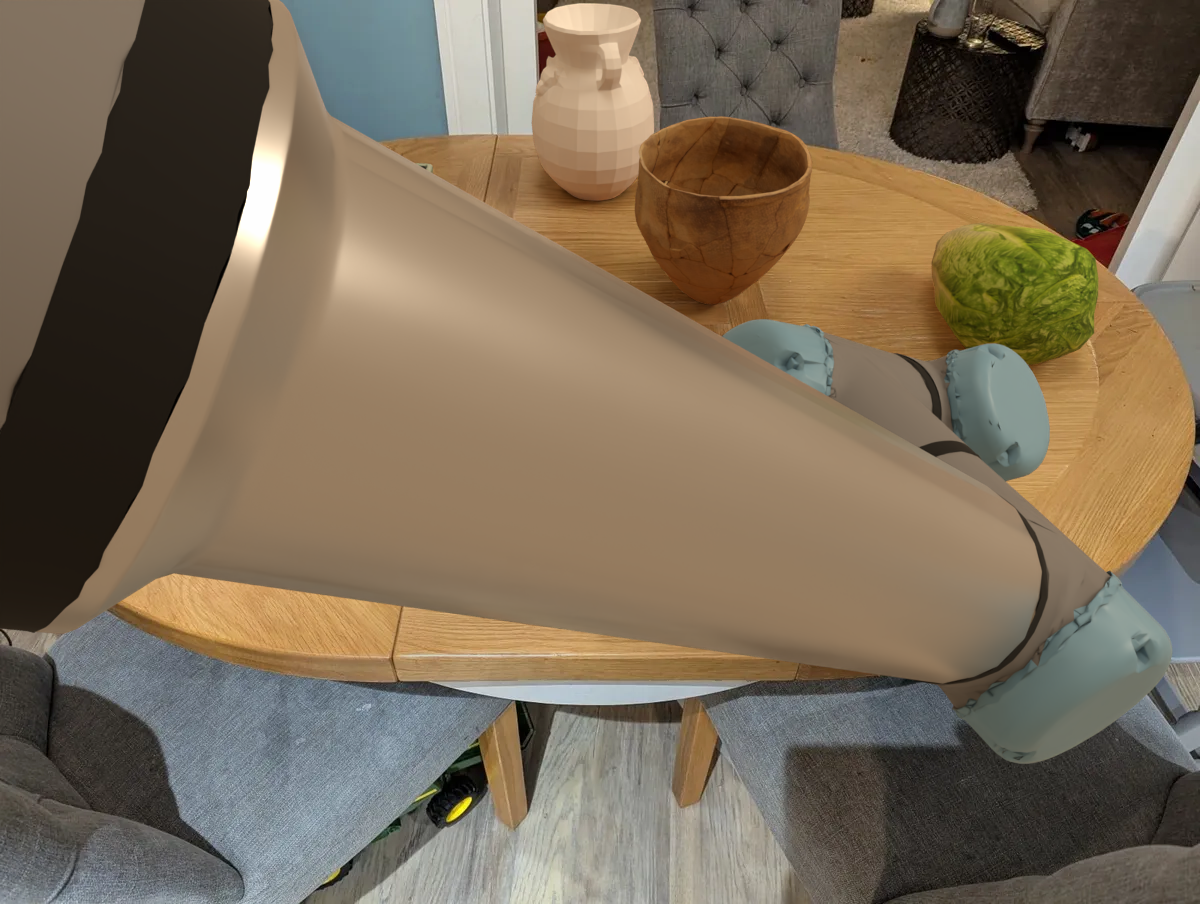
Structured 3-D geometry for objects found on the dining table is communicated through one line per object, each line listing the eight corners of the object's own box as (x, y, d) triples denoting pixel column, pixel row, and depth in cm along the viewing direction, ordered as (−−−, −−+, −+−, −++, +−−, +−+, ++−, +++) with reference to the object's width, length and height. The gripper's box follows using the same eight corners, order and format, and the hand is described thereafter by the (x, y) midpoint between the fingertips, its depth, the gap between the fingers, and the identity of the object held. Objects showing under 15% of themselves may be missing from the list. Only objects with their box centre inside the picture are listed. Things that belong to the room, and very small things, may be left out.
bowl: (804, 346, 98) (839, 189, 84) (637, 350, 97) (645, 192, 83) (769, 258, 113) (794, 113, 99) (625, 261, 112) (629, 115, 98)
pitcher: (522, 170, 133) (512, 2, 115) (628, 157, 137) (634, -8, 119) (552, 223, 120) (545, 42, 102) (668, 206, 124) (680, 29, 107)
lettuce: (1007, 279, 111) (1023, 175, 102) (1116, 369, 91) (1148, 251, 82) (884, 303, 111) (890, 202, 102) (968, 398, 91) (984, 283, 83)
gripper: (753, 615, 49) (552, 634, 66) (884, 428, 61) (686, 486, 79) (684, 517, 47) (498, 563, 65) (834, 346, 60) (643, 424, 77)
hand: (601, 521), depth 72 cm, fingers closed on cup, 8 cm apart
